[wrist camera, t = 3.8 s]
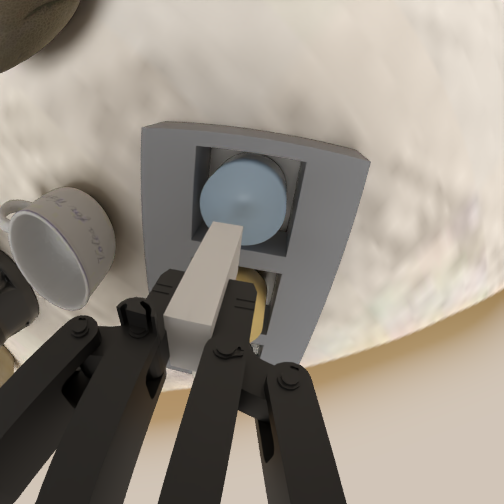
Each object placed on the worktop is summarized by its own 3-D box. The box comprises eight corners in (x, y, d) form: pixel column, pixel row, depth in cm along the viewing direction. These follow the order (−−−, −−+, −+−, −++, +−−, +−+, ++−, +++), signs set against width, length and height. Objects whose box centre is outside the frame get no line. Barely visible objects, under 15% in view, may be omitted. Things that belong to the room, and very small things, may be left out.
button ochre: (202, 306, 26) (190, 337, 22) (203, 256, 23) (189, 287, 19) (261, 318, 25) (256, 351, 22) (272, 269, 22) (268, 302, 19)
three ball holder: (171, 342, 33) (161, 366, 30) (165, 121, 20) (141, 127, 16) (287, 364, 33) (286, 391, 29) (356, 150, 19) (370, 161, 16)
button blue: (212, 214, 23) (198, 237, 19) (218, 148, 20) (202, 159, 16) (279, 226, 22) (277, 252, 19) (292, 159, 20) (293, 173, 16)
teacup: (147, 227, 25) (103, 277, 18) (104, 283, 30) (69, 329, 23) (56, 138, 21) (-2, 161, 14) (30, 208, 26) (-14, 240, 19)
